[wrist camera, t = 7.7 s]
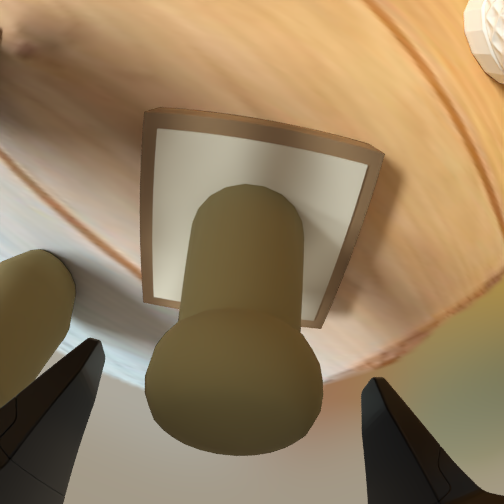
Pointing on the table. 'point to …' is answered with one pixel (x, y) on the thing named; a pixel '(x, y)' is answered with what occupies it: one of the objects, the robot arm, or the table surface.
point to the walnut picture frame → (255, 173)
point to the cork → (238, 332)
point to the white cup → (486, 35)
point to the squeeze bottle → (31, 316)
